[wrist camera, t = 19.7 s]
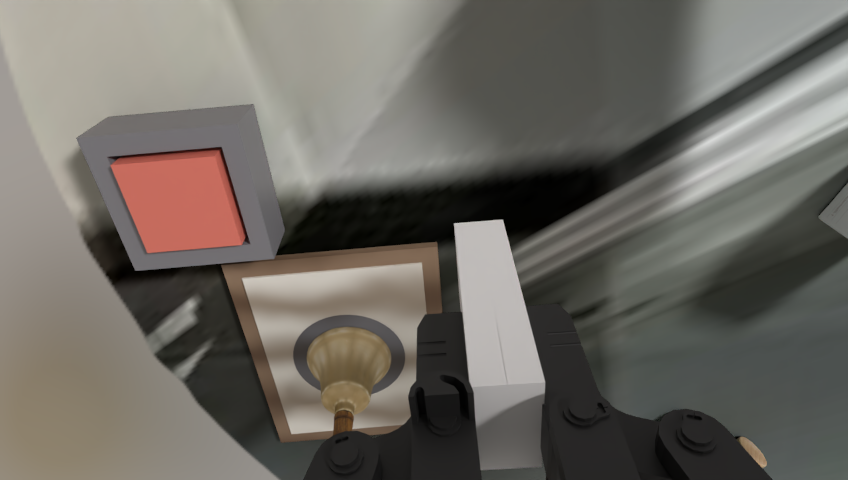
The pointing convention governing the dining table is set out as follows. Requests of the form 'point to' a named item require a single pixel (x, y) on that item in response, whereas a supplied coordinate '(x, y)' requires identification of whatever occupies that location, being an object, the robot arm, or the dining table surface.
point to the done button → (181, 199)
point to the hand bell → (347, 370)
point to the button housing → (188, 132)
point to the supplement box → (837, 213)
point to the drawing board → (334, 326)
